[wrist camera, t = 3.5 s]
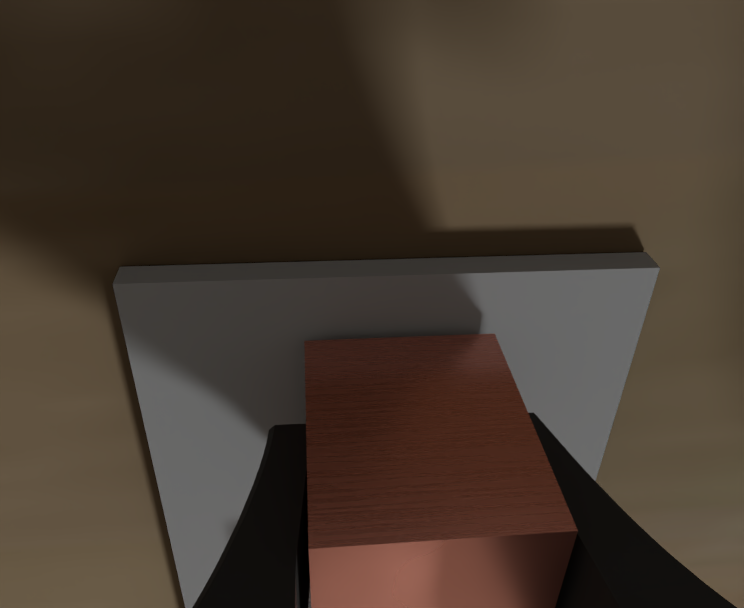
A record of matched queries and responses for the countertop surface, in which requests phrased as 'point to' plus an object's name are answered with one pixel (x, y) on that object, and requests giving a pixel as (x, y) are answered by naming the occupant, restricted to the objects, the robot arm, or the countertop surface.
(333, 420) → the pink cube with handle
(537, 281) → the mat
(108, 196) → the countertop surface
